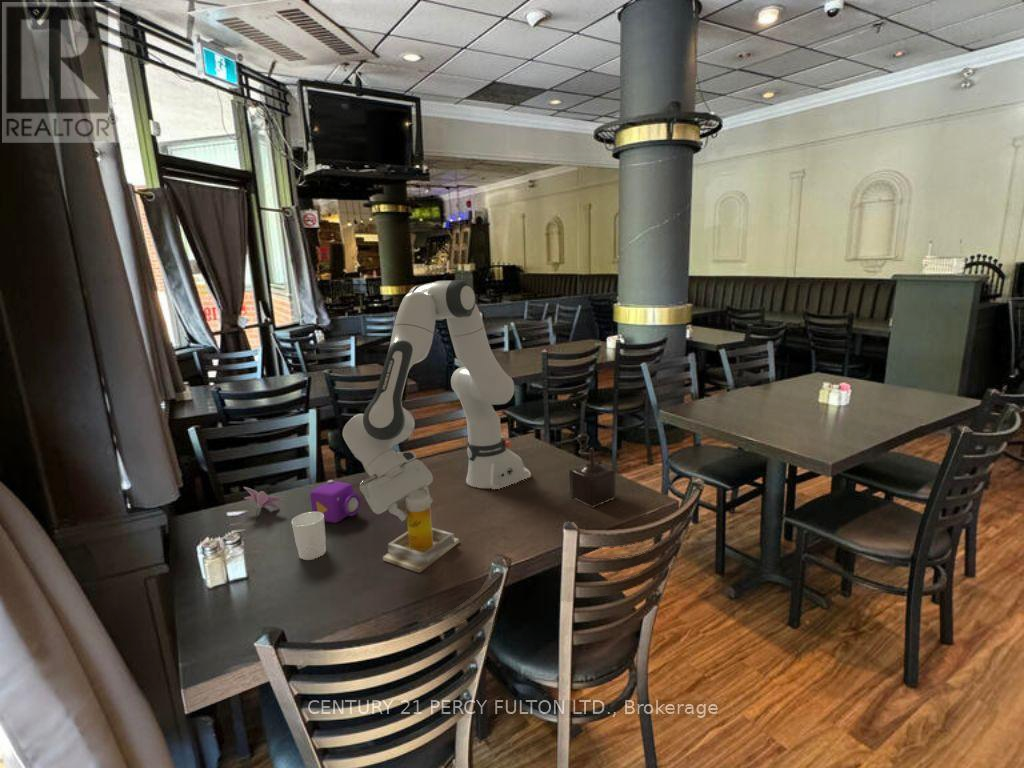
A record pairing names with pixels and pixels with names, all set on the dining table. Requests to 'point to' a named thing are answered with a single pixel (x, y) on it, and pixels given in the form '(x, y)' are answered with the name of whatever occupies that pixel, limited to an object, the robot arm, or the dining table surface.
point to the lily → (262, 499)
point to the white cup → (309, 535)
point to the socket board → (415, 559)
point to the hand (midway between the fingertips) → (418, 510)
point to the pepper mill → (591, 478)
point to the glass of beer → (419, 520)
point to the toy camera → (335, 501)
